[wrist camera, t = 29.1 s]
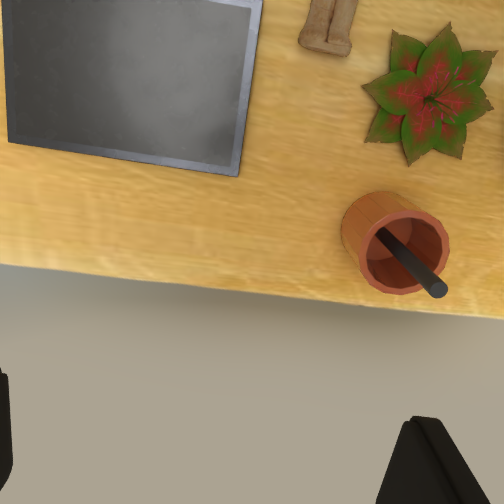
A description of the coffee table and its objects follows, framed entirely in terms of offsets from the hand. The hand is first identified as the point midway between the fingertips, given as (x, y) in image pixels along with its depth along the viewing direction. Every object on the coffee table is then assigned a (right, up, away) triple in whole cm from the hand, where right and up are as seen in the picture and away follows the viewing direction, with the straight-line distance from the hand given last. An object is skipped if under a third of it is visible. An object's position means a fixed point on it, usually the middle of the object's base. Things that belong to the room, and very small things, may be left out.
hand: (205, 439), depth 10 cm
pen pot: (+13, +7, +30) cm, 33 cm away
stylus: (+13, +6, +30) cm, 33 cm away
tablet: (-9, +19, +25) cm, 33 cm away
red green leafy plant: (+16, +18, +26) cm, 35 cm away
